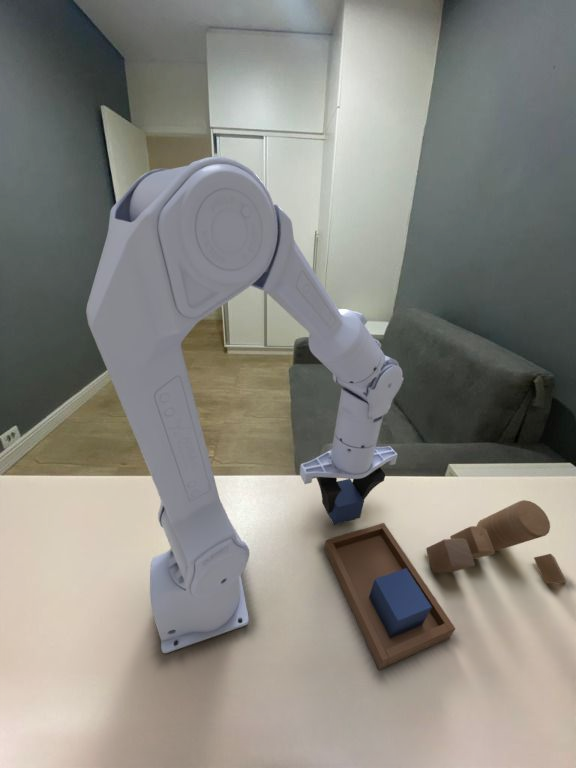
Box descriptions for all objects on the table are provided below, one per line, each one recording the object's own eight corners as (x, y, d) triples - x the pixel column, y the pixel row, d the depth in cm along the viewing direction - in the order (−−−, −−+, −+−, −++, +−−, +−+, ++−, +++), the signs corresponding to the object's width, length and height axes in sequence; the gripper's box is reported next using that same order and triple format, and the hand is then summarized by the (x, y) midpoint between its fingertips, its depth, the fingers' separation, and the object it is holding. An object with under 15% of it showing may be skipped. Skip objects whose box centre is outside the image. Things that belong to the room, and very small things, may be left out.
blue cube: (390, 638, 35) (397, 621, 33) (368, 597, 38) (374, 578, 36) (422, 624, 36) (432, 607, 34) (399, 585, 40) (406, 567, 38)
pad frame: (378, 669, 33) (382, 661, 32) (324, 548, 44) (325, 539, 43) (450, 637, 36) (455, 628, 35) (381, 531, 47) (383, 522, 46)
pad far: (333, 525, 46) (337, 507, 44) (321, 501, 50) (324, 484, 48) (360, 518, 48) (364, 500, 46) (346, 495, 51) (350, 478, 49)
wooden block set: (431, 589, 42) (468, 582, 34) (413, 522, 48) (441, 502, 39) (557, 583, 43) (622, 575, 35) (525, 518, 48) (576, 497, 40)
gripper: (384, 410, 47) (368, 475, 53) (295, 424, 43) (289, 493, 49) (415, 439, 41) (392, 508, 48) (315, 459, 37) (305, 532, 43)
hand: (341, 503), depth 48 cm, fingers closed on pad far, 4 cm apart
